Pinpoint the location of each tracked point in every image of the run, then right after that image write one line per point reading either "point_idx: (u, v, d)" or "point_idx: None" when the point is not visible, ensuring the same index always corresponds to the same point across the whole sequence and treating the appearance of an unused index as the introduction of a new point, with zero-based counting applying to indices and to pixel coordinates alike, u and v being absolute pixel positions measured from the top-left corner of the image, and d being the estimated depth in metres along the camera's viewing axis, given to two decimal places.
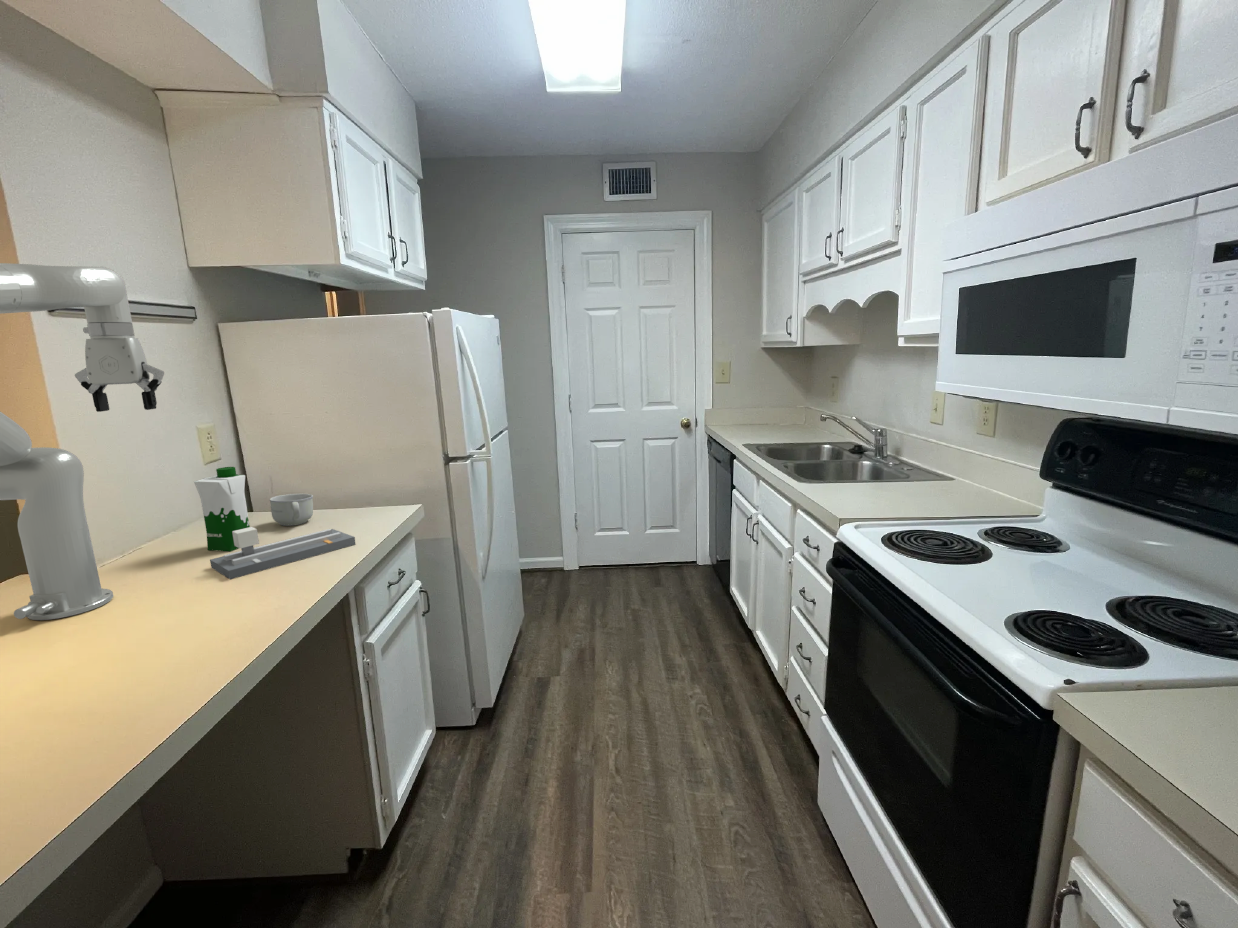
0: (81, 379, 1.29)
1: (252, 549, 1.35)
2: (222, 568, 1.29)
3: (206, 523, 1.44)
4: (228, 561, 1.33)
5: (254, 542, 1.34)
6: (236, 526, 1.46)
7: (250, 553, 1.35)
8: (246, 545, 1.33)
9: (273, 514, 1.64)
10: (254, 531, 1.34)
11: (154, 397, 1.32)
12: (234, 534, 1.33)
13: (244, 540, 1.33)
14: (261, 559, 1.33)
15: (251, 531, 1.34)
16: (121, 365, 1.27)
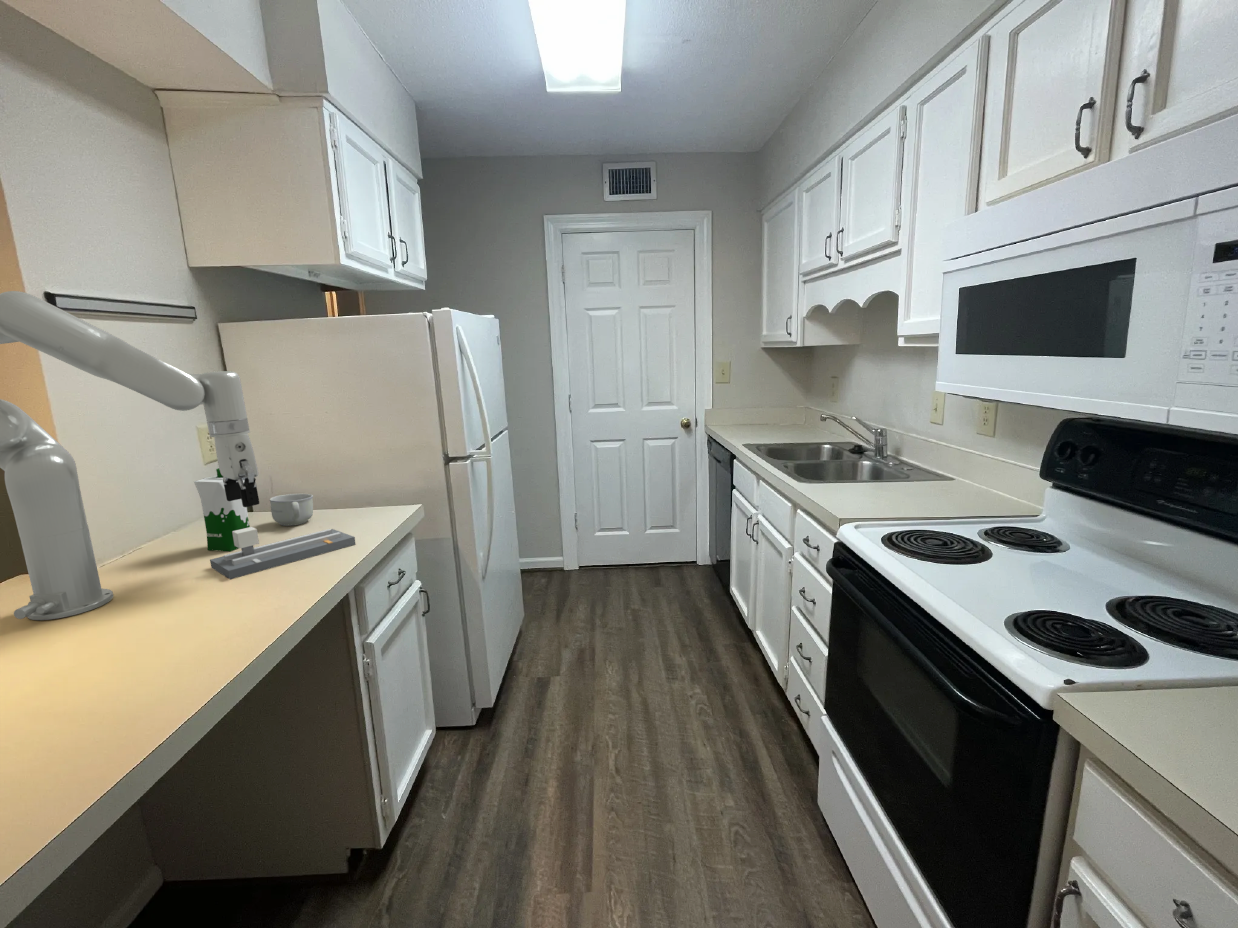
0: None
1: (252, 549, 1.35)
2: (222, 568, 1.29)
3: (206, 523, 1.44)
4: (228, 561, 1.33)
5: (254, 542, 1.34)
6: (236, 526, 1.46)
7: (250, 553, 1.35)
8: (246, 545, 1.33)
9: (273, 514, 1.64)
10: (254, 531, 1.34)
11: None
12: (234, 534, 1.33)
13: (244, 540, 1.33)
14: (261, 559, 1.33)
15: (251, 531, 1.34)
16: None
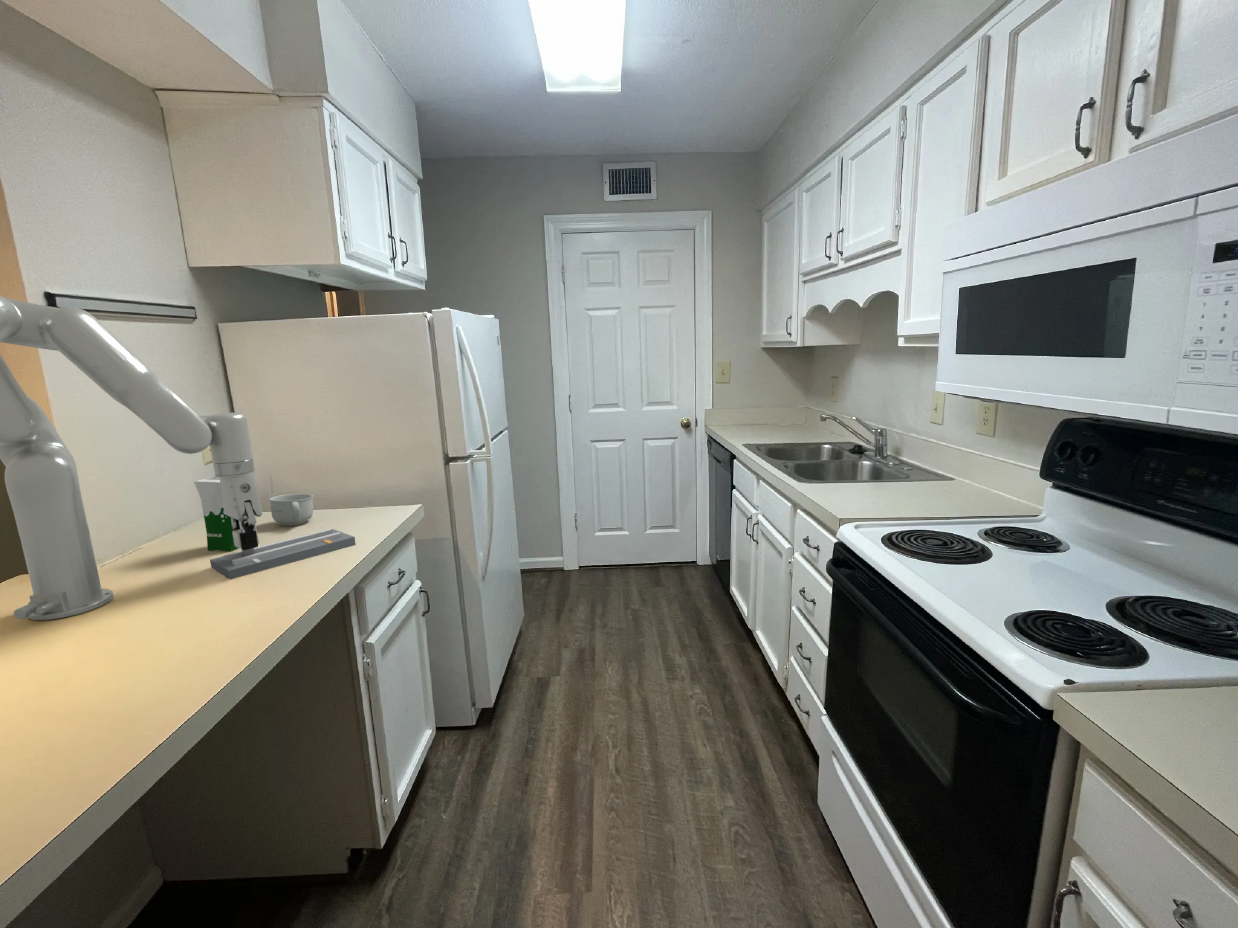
0: None
1: (252, 549, 1.35)
2: (222, 568, 1.29)
3: (206, 523, 1.44)
4: (228, 561, 1.33)
5: None
6: None
7: (250, 553, 1.35)
8: None
9: (273, 514, 1.64)
10: None
11: None
12: (234, 534, 1.33)
13: None
14: (261, 559, 1.33)
15: None
16: None
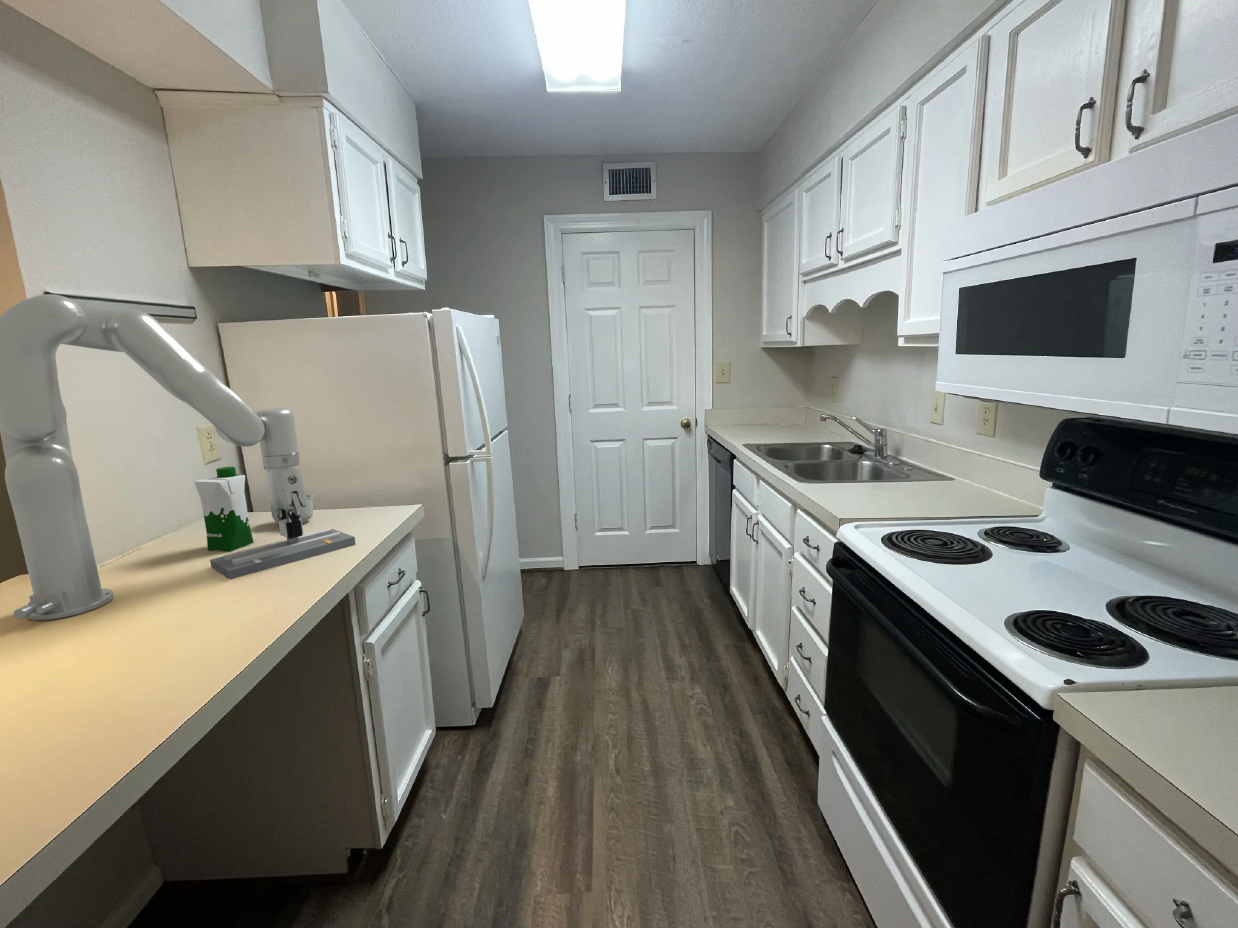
0: None
1: (297, 538, 1.42)
2: (222, 568, 1.29)
3: (206, 523, 1.44)
4: (228, 561, 1.33)
5: None
6: (236, 526, 1.46)
7: (295, 542, 1.42)
8: None
9: (273, 514, 1.64)
10: None
11: None
12: (280, 523, 1.40)
13: None
14: (261, 559, 1.33)
15: None
16: None
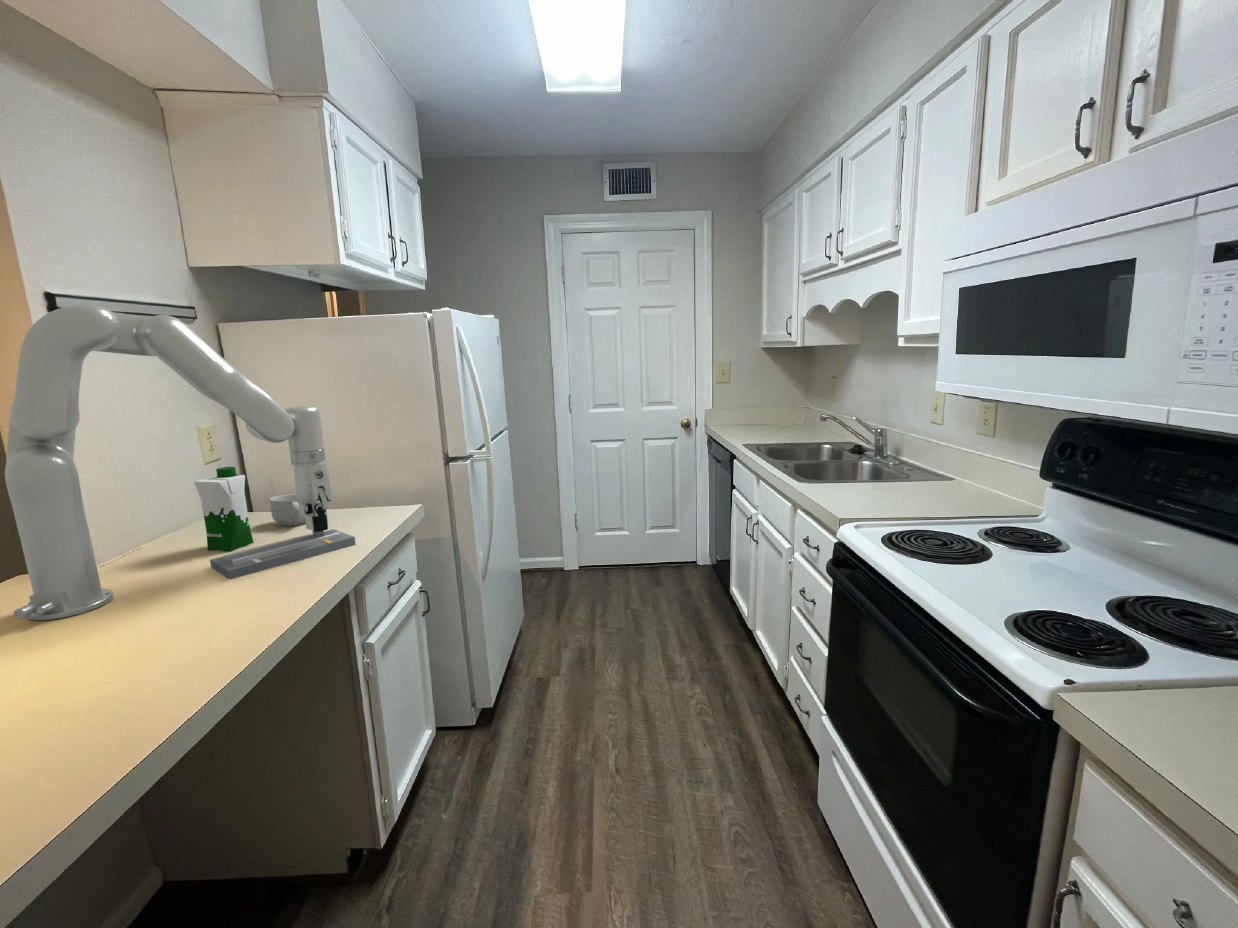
0: None
1: (322, 531, 1.47)
2: (222, 568, 1.29)
3: (206, 523, 1.44)
4: (228, 561, 1.33)
5: None
6: (236, 526, 1.46)
7: (320, 535, 1.47)
8: None
9: (273, 514, 1.64)
10: None
11: None
12: (307, 517, 1.45)
13: None
14: (261, 559, 1.33)
15: None
16: None
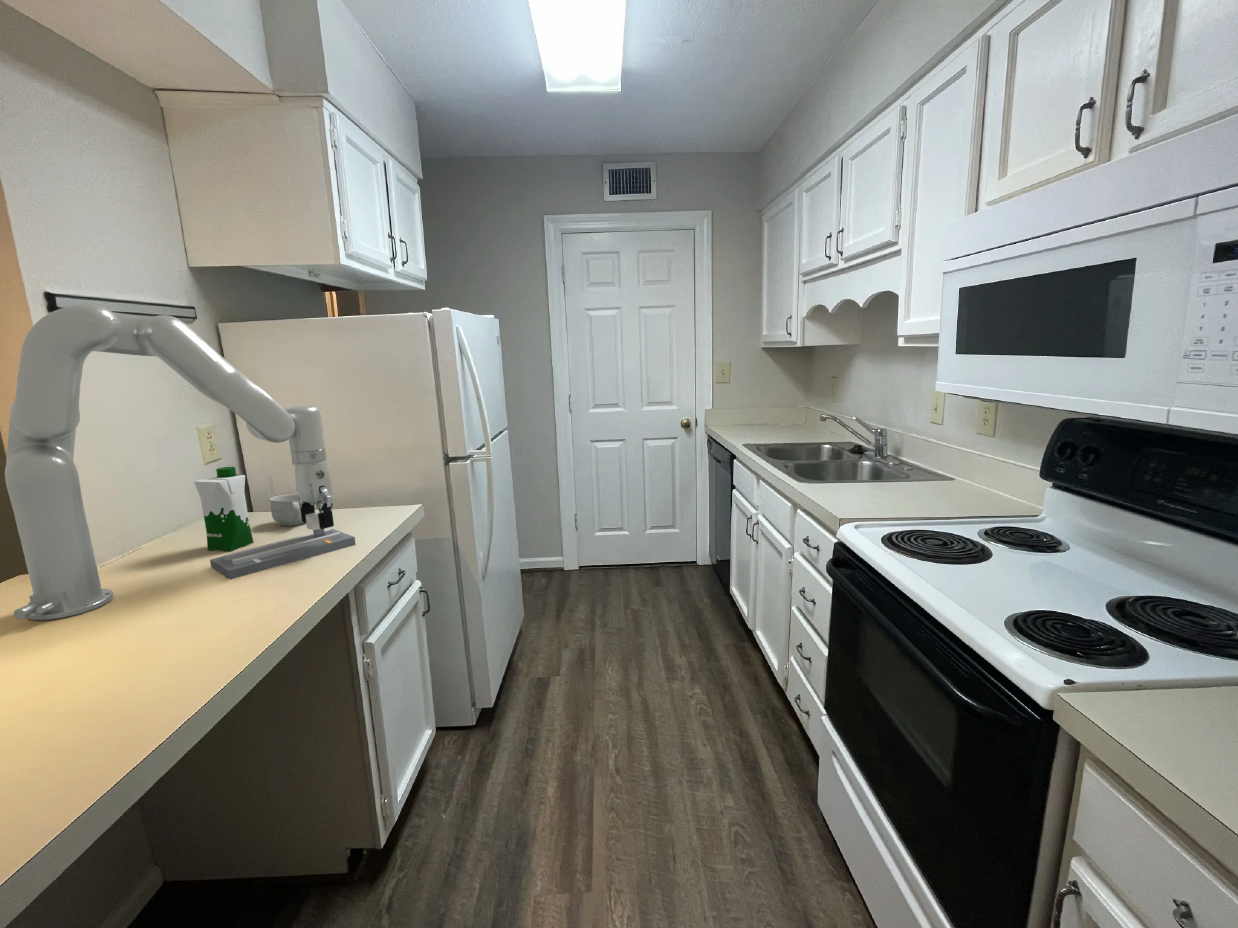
0: None
1: (323, 531, 1.47)
2: (222, 568, 1.29)
3: (206, 523, 1.44)
4: (228, 561, 1.33)
5: None
6: (236, 526, 1.46)
7: (321, 535, 1.47)
8: (318, 527, 1.45)
9: (273, 514, 1.64)
10: None
11: None
12: (307, 517, 1.45)
13: (317, 523, 1.45)
14: (261, 559, 1.33)
15: None
16: None
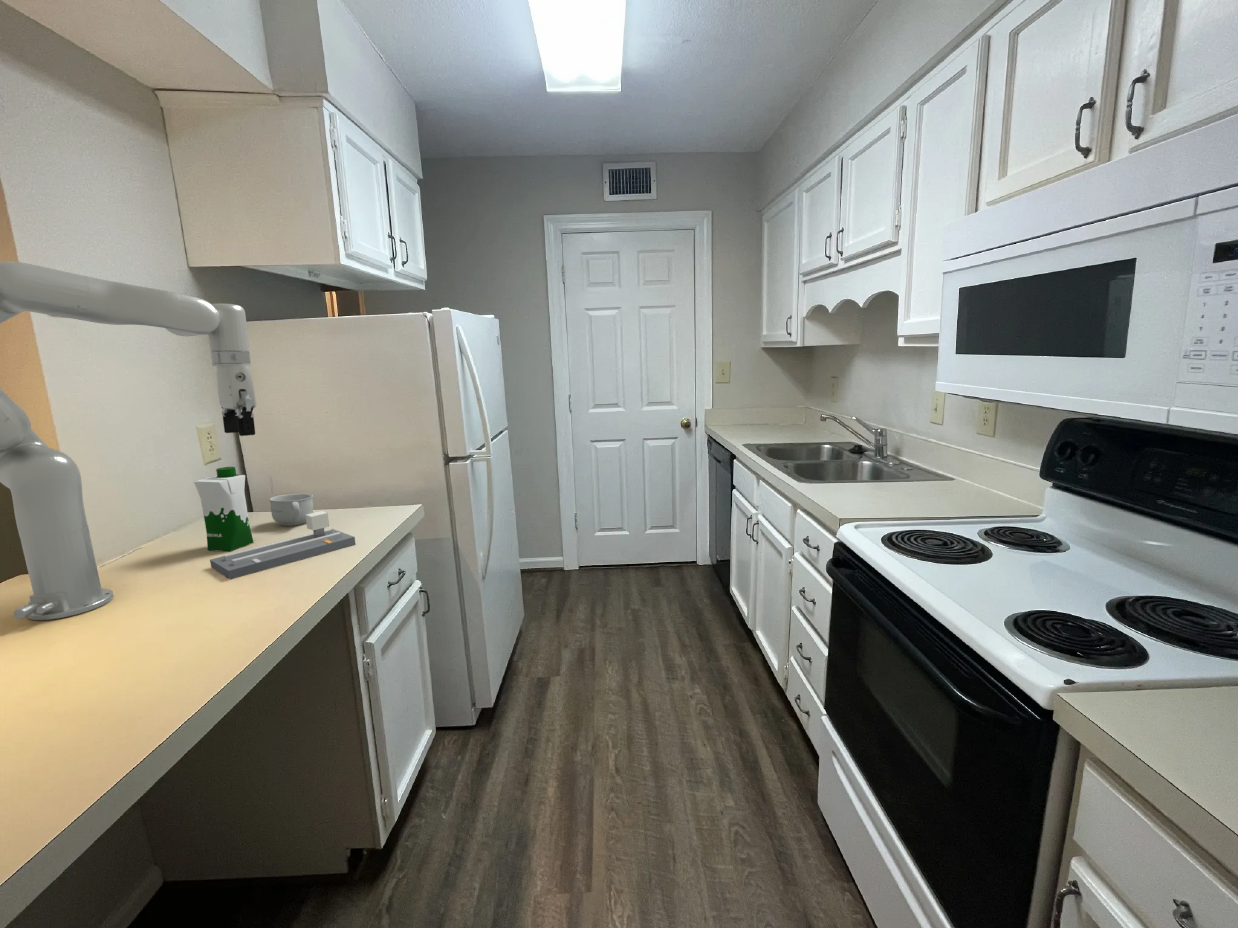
0: None
1: (323, 531, 1.47)
2: (222, 568, 1.29)
3: (206, 523, 1.44)
4: (228, 561, 1.33)
5: (325, 525, 1.46)
6: (236, 526, 1.46)
7: (321, 535, 1.47)
8: (318, 527, 1.45)
9: (273, 514, 1.64)
10: (325, 515, 1.46)
11: None
12: (307, 517, 1.45)
13: (317, 523, 1.45)
14: (261, 559, 1.33)
15: (323, 515, 1.46)
16: None
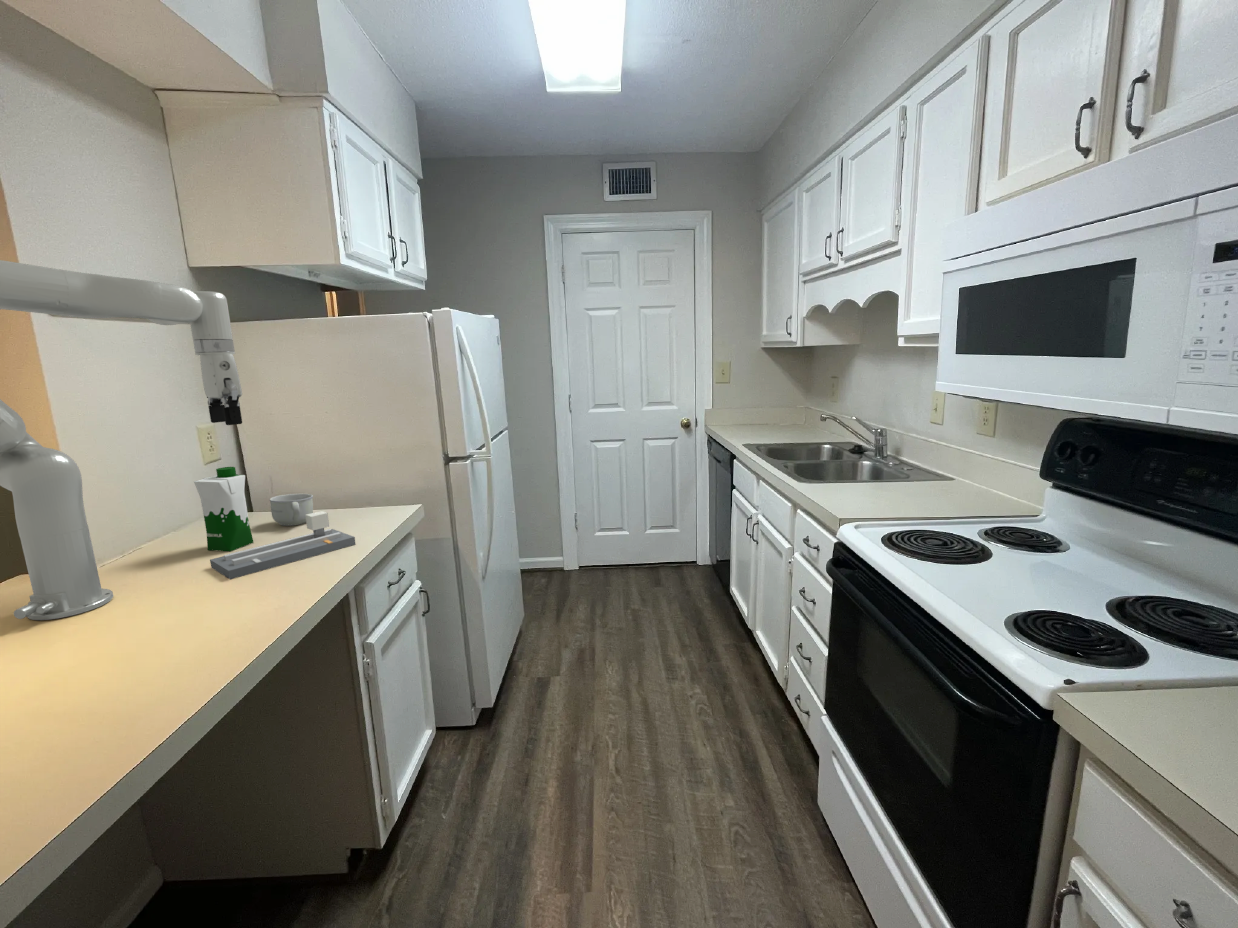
0: None
1: (323, 531, 1.47)
2: (222, 568, 1.29)
3: (206, 523, 1.44)
4: (228, 561, 1.33)
5: (325, 525, 1.46)
6: (236, 526, 1.46)
7: (321, 535, 1.47)
8: (318, 527, 1.45)
9: (273, 514, 1.64)
10: (325, 515, 1.46)
11: None
12: (307, 517, 1.45)
13: (317, 523, 1.45)
14: (261, 559, 1.33)
15: (323, 515, 1.46)
16: None
